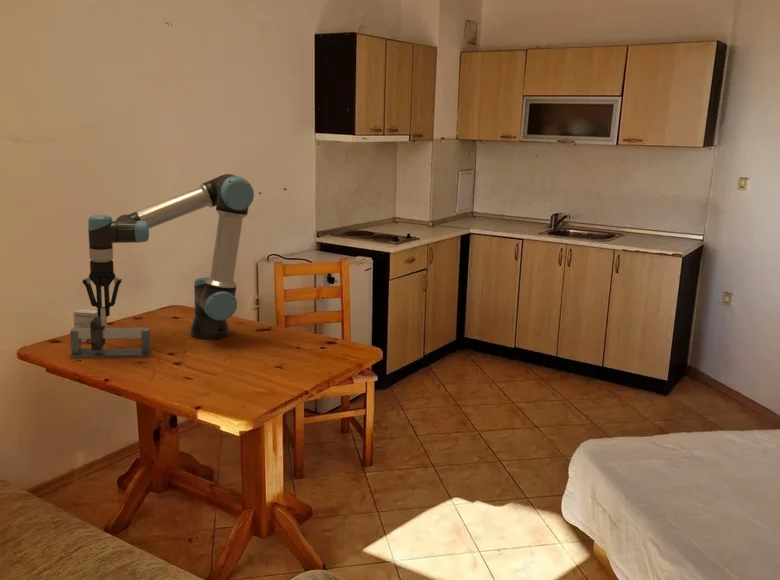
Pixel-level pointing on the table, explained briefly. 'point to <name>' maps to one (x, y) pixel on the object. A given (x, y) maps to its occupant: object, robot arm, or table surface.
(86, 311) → the ink box
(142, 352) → the pipe rail
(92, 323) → the ring collar
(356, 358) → the table surface
